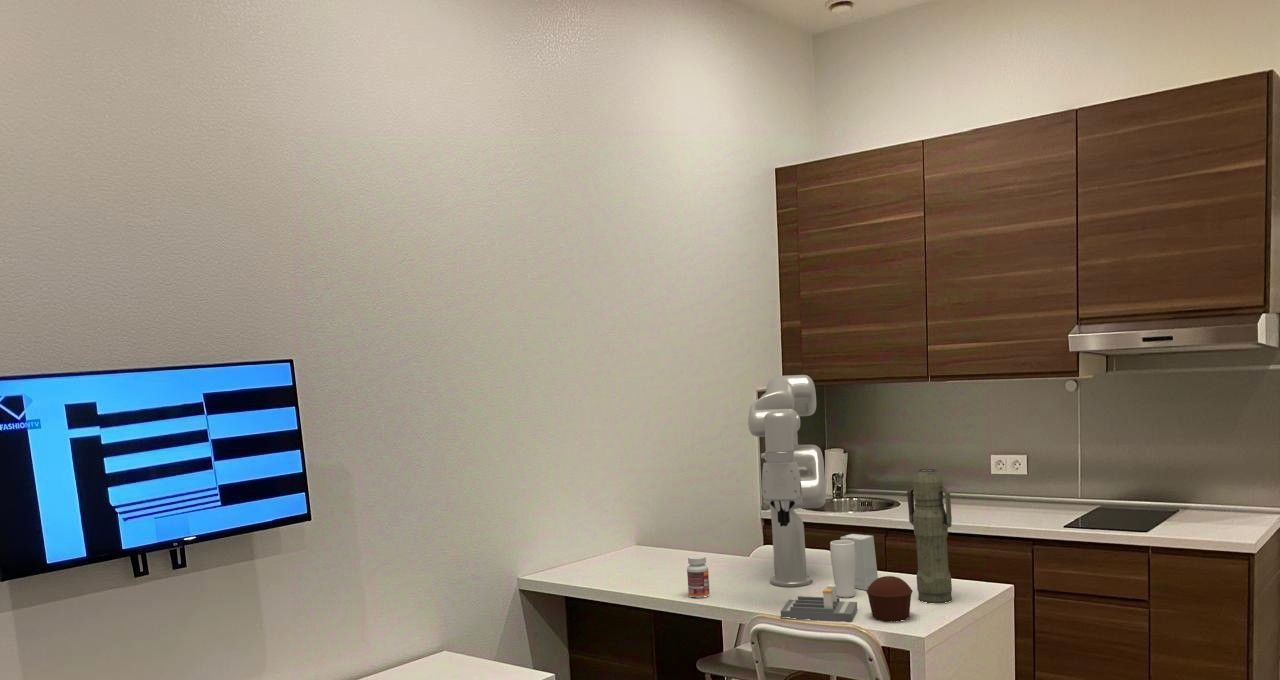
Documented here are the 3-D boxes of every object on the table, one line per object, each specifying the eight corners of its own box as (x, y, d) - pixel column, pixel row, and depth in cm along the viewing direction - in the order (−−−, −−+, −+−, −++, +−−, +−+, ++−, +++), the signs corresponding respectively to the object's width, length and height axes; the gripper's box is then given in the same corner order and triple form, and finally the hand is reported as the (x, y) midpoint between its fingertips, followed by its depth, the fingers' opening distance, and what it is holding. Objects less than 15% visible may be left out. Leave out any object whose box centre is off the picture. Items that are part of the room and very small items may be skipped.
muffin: (895, 626, 225) (892, 585, 225) (858, 618, 234) (856, 578, 234) (923, 616, 232) (920, 576, 233) (886, 609, 241) (884, 570, 241)
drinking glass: (840, 591, 261) (836, 539, 262) (861, 594, 257) (858, 540, 258) (828, 597, 256) (825, 543, 257) (850, 600, 252) (847, 545, 252)
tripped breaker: (825, 608, 236) (824, 588, 237) (833, 608, 236) (832, 589, 236) (823, 610, 234) (822, 591, 234) (832, 611, 233) (831, 591, 234)
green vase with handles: (919, 593, 254) (911, 467, 256) (962, 598, 247) (954, 468, 248) (907, 601, 248) (899, 471, 249) (950, 606, 240) (942, 472, 242)
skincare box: (879, 587, 264) (876, 535, 265) (865, 591, 261) (862, 538, 261) (856, 582, 271) (853, 532, 272) (842, 586, 267) (839, 535, 268)
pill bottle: (709, 598, 262) (707, 558, 262) (687, 599, 262) (685, 559, 263) (709, 593, 268) (707, 554, 268) (688, 593, 268) (686, 555, 269)
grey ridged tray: (789, 606, 248) (788, 582, 248) (857, 609, 242) (855, 584, 242) (780, 618, 237) (779, 592, 237) (851, 621, 230) (850, 595, 231)
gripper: (750, 459, 246) (753, 527, 246) (805, 458, 241) (809, 528, 241) (756, 456, 253) (759, 522, 253) (810, 455, 248) (814, 523, 248)
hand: (784, 525), depth 247 cm, fingers closed
